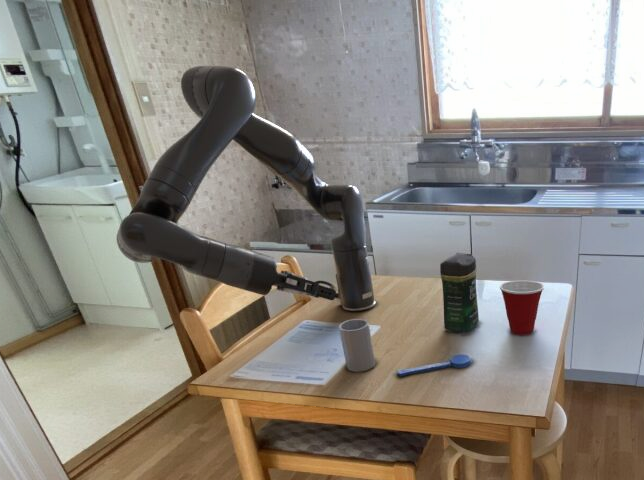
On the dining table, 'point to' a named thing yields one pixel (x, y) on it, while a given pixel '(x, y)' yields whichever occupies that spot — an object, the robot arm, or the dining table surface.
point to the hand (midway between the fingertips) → (326, 294)
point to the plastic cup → (521, 304)
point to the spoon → (439, 365)
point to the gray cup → (357, 344)
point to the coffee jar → (459, 293)
